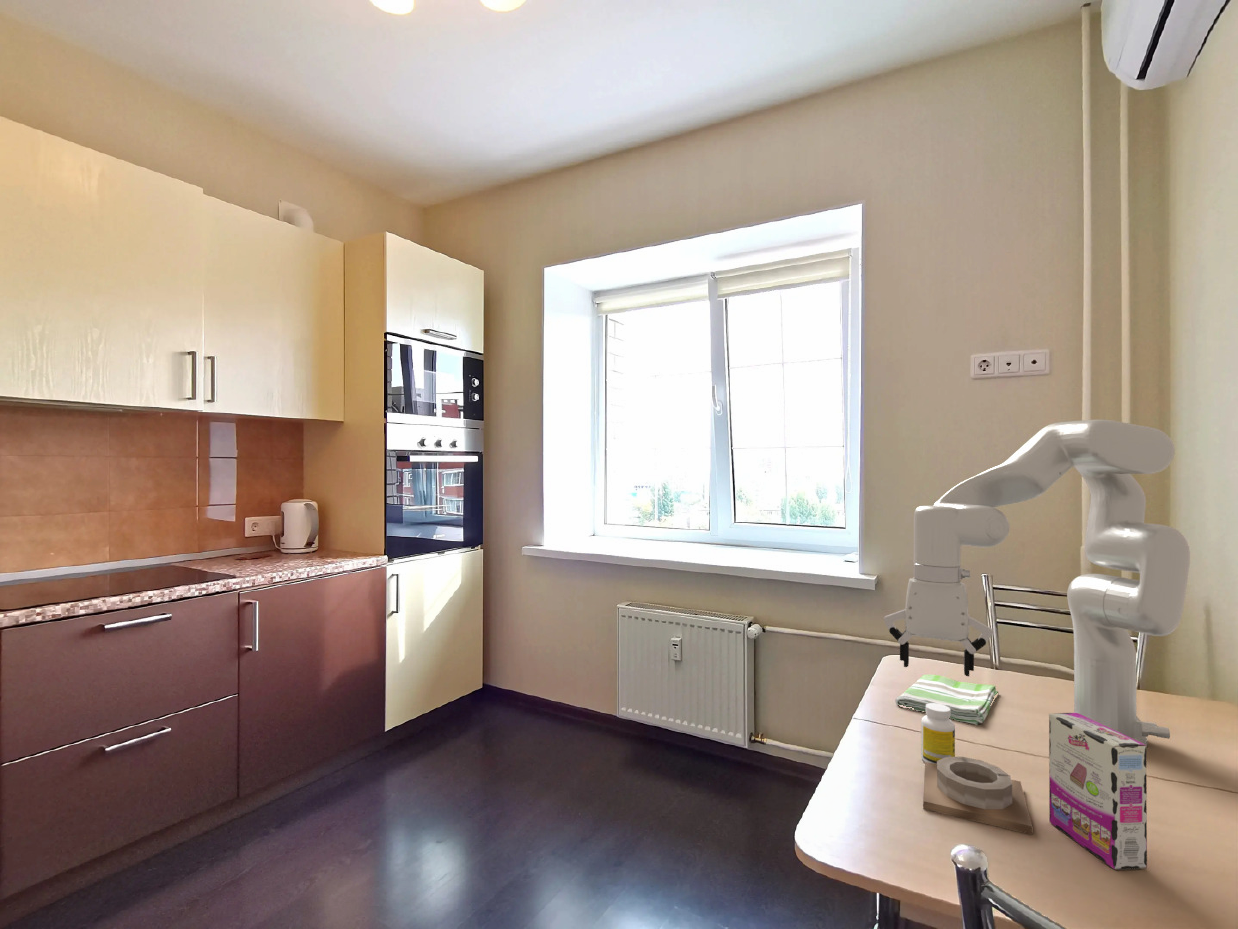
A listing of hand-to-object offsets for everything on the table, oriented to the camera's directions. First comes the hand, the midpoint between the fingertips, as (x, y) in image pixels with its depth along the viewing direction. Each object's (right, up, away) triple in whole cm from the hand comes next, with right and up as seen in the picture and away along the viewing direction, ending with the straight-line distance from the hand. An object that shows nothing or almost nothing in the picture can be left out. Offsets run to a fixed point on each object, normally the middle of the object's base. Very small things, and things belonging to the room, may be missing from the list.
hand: (935, 669), depth 108 cm
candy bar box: (+10, -17, -24) cm, 31 cm away
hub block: (0, -17, -12) cm, 20 cm away
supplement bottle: (0, -17, 0) cm, 17 cm away
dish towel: (+18, -18, +29) cm, 38 cm away
